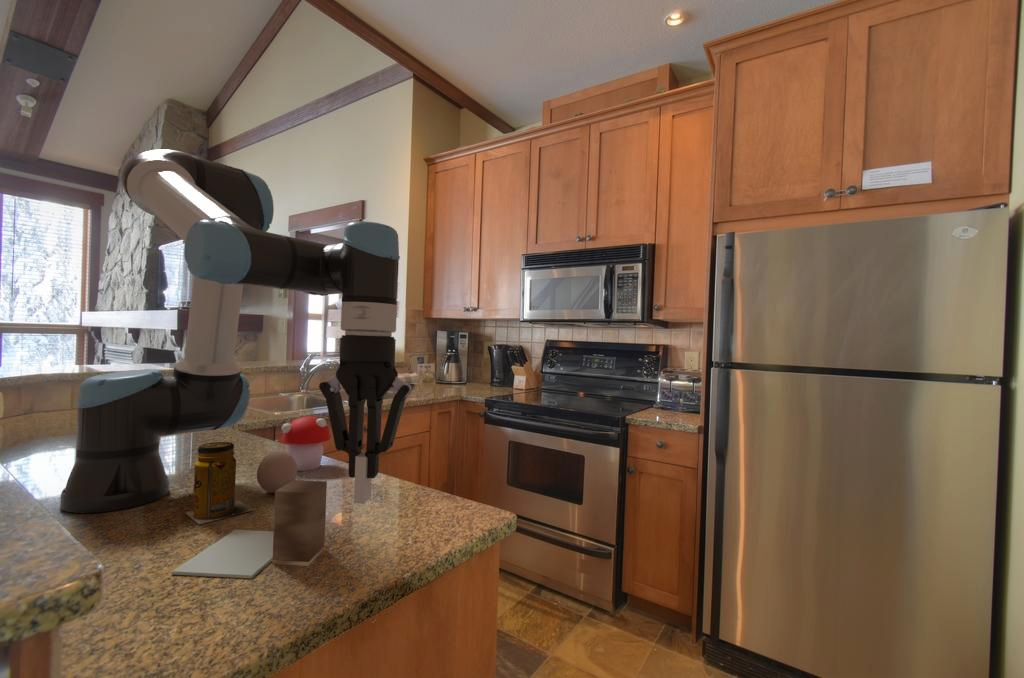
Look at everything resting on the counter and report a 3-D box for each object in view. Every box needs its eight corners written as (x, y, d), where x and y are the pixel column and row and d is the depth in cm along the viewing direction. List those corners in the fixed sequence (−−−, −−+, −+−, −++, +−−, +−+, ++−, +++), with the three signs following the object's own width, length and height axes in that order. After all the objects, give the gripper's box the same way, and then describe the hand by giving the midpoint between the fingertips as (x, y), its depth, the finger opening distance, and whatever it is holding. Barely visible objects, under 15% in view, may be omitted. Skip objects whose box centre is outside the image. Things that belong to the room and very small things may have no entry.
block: (272, 563, 63) (275, 491, 63) (291, 547, 68) (293, 479, 68) (308, 565, 63) (311, 492, 63) (324, 549, 68) (326, 481, 68)
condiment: (184, 513, 79) (187, 443, 79) (238, 501, 86) (241, 437, 86) (198, 525, 75) (201, 451, 75) (254, 511, 81) (257, 443, 81)
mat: (171, 574, 59) (171, 571, 59) (235, 532, 72) (235, 529, 72) (251, 578, 59) (251, 575, 59) (300, 535, 72) (301, 532, 72)
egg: (265, 486, 94) (267, 445, 94) (302, 486, 95) (303, 446, 95) (249, 498, 87) (250, 454, 87) (288, 498, 88) (290, 455, 88)
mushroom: (269, 469, 106) (270, 417, 106) (306, 458, 116) (308, 410, 116) (304, 475, 102) (306, 421, 102) (339, 464, 112) (341, 414, 112)
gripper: (311, 332, 62) (304, 507, 62) (407, 335, 61) (400, 512, 61) (334, 332, 69) (328, 489, 69) (420, 336, 69) (414, 493, 69)
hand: (362, 500), depth 65 cm, fingers closed
